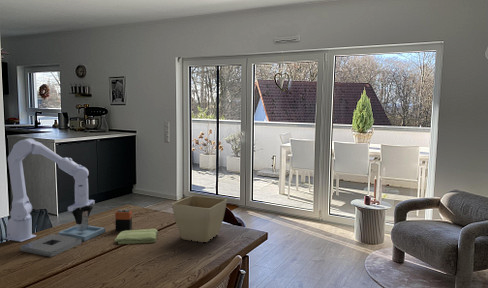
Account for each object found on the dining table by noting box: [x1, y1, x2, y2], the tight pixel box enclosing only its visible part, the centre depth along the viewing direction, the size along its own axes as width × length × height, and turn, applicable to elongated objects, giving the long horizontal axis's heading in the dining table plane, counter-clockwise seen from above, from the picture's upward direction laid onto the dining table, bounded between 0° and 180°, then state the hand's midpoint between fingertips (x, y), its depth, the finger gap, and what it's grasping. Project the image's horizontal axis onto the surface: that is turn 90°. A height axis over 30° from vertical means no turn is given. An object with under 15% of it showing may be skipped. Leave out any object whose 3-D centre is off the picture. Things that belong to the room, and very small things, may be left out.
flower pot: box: [171, 195, 228, 243], centre depth 169 cm, size 19×19×17 cm
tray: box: [57, 225, 106, 242], centre depth 169 cm, size 15×13×2 cm
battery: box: [114, 208, 133, 232], centre depth 177 cm, size 4×7×10 cm, turn 91°
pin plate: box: [19, 233, 83, 258], centre depth 153 cm, size 16×16×2 cm
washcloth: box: [114, 228, 159, 245], centre depth 166 cm, size 13×18×3 cm
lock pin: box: [75, 210, 89, 232], centre depth 169 cm, size 4×4×9 cm
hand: (82, 222), depth 169 cm, fingers closed on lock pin, 3 cm apart
